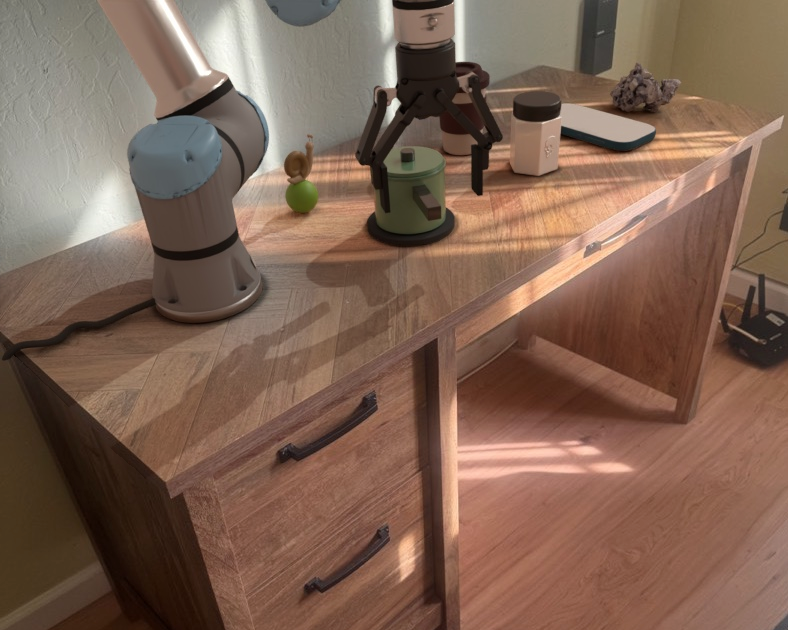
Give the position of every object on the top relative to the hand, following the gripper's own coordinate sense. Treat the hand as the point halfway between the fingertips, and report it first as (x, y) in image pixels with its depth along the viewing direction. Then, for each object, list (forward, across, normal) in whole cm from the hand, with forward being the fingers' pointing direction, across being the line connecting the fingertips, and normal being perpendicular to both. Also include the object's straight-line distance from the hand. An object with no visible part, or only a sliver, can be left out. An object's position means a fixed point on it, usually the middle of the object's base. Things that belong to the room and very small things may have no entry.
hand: (431, 200), depth 108 cm
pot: (+8, 0, +7) cm, 11 cm away
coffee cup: (+9, +18, +38) cm, 43 cm away
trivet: (+9, 0, +11) cm, 14 cm away
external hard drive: (+9, +44, +36) cm, 57 cm away
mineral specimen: (+10, +58, +44) cm, 73 cm away
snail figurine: (+9, -15, +23) cm, 29 cm away
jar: (+9, +27, +25) cm, 38 cm away
